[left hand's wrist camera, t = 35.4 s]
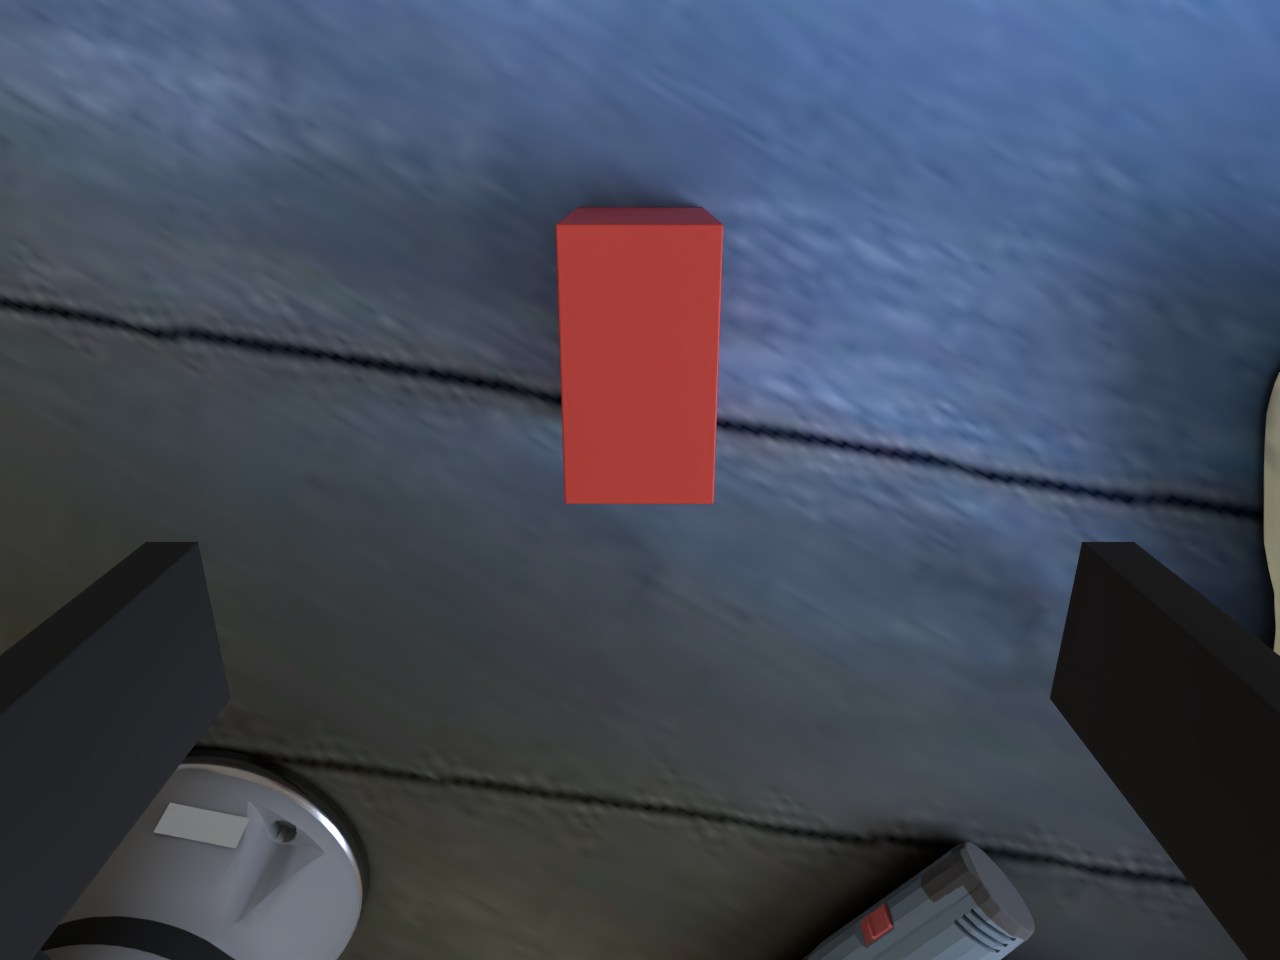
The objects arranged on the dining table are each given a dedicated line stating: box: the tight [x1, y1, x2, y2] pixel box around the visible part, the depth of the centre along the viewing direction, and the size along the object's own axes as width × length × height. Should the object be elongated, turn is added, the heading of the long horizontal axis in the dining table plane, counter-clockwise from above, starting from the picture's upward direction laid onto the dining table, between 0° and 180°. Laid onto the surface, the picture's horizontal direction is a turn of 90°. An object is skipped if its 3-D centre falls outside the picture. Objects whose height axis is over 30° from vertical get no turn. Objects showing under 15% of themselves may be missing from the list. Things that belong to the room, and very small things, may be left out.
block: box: [556, 207, 723, 504], centre depth 31 cm, size 5×9×9 cm, turn 0°
